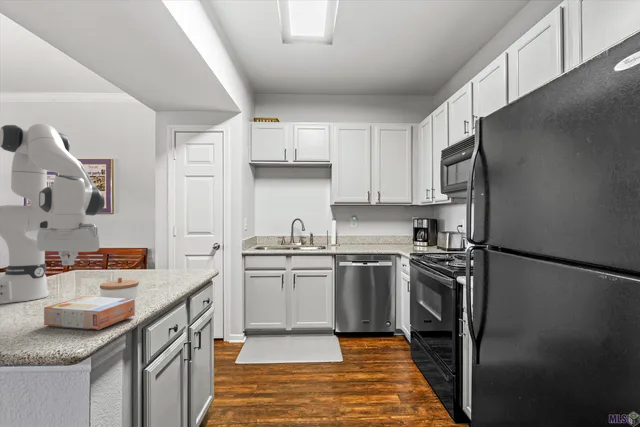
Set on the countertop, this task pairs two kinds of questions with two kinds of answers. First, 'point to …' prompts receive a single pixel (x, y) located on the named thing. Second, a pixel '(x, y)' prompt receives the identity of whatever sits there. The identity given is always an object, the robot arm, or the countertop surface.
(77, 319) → the cracker box
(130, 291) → the lidded bowl
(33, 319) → the countertop surface
